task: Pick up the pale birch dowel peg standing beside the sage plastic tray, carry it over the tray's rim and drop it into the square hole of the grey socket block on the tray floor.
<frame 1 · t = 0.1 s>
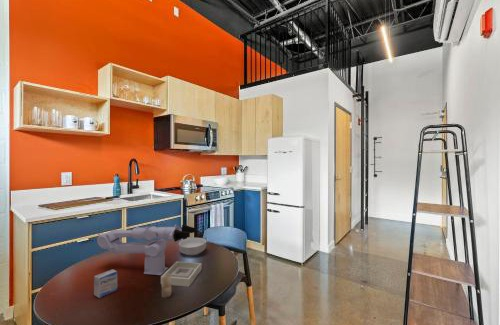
hand: (192, 232, 124), 22 cm above the table, tool horizontal, fingers open, 7 cm apart
cereal bowl: (192, 253, 151), on the table
birch peg: (166, 295, 106), on the table
medicine box: (106, 293, 107), on the table
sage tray: (182, 276, 122), on the table
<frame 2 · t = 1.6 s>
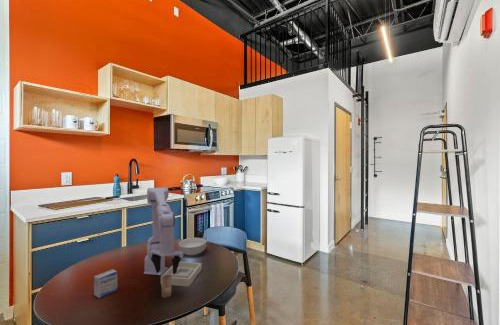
hand: (166, 272, 105), 10 cm above the table, tool pointing down, fingers open, 7 cm apart
nothing on the table moved.
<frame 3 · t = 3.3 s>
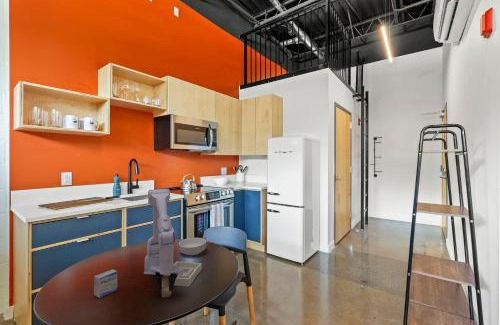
hand: (166, 289, 105), 2 cm above the table, tool pointing down, fingers closed on birch peg, 4 cm apart
birch peg: (166, 295, 106), on the table, touching gripper
everything else where it was.
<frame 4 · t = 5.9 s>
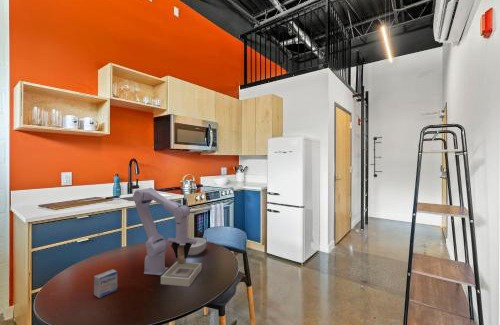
hand: (181, 257, 121), 10 cm above the table, tool pointing down, fingers closed on birch peg, 4 cm apart
birch peg: (181, 262, 121), point 7 cm above the table, touching gripper
everything else where it was.
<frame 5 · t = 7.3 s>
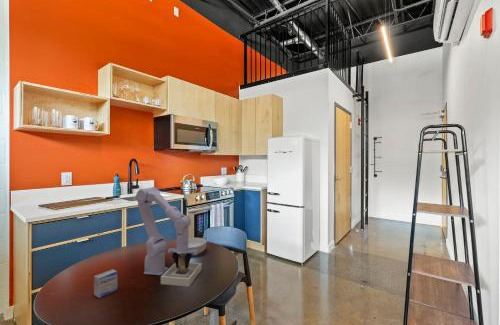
hand: (182, 267, 122), 4 cm above the table, tool pointing down, fingers closed on birch peg, 4 cm apart
birch peg: (182, 272, 122), point 2 cm above the table, touching gripper
everything else where it was.
when the fingers open (4 cm above the table, at t = 8.4 s): birch peg stays where it is, resting on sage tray.
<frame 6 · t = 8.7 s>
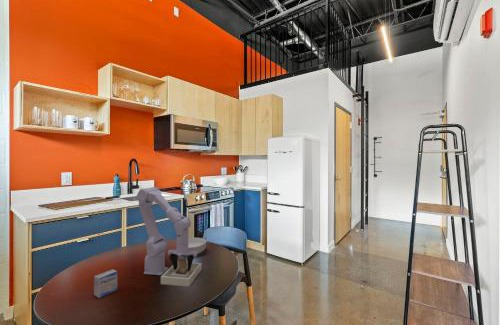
hand: (182, 269, 122), 4 cm above the table, tool pointing down, fingers open, 7 cm apart
birch peg: (182, 275, 122), point 1 cm above the table, touching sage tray
everything else where it was.
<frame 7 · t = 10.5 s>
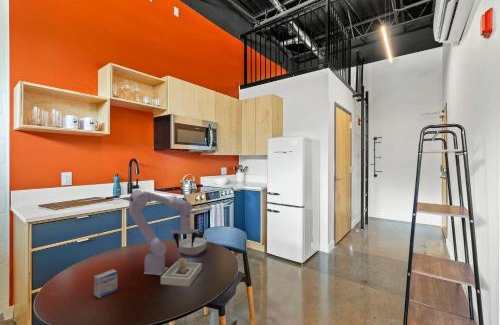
hand: (185, 246, 137), 9 cm above the table, tool pointing down, fingers open, 7 cm apart
nothing on the table moved.
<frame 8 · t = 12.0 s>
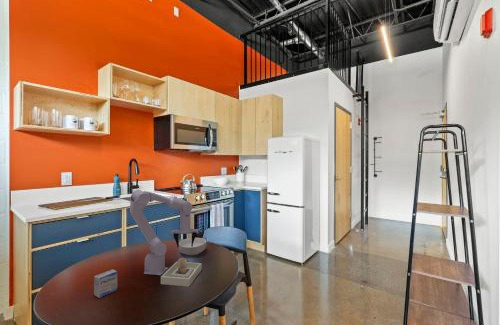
hand: (185, 246, 137), 9 cm above the table, tool pointing down, fingers open, 7 cm apart
nothing on the table moved.
at the end: birch peg 0.0 cm off-centre on the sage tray, point 0.6 cm above the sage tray's base; birch peg tilted 0°; the gripper is holding nothing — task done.
